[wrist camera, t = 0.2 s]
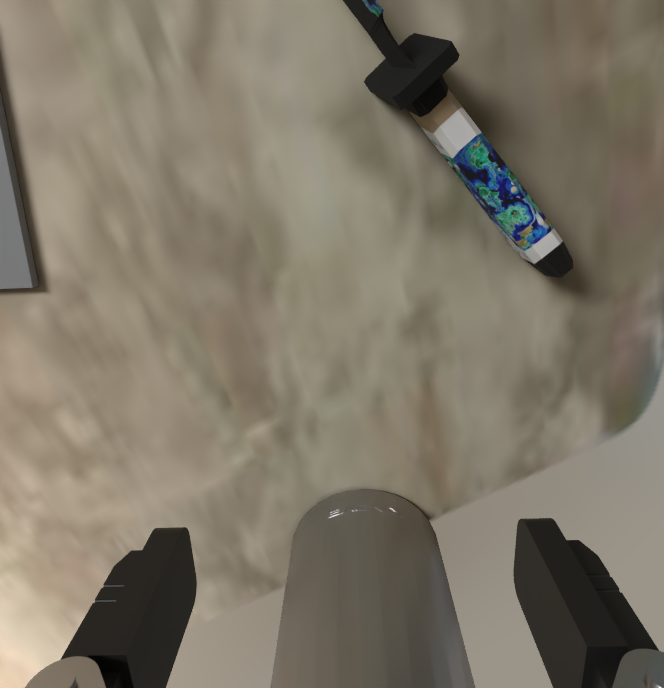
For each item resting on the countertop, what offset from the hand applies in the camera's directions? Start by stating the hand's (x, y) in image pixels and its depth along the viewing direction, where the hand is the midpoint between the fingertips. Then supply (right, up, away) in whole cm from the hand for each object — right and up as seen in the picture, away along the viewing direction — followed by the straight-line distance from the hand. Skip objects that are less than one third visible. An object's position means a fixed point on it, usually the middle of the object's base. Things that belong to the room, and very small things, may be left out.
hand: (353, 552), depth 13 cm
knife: (0, +21, +11) cm, 24 cm away
